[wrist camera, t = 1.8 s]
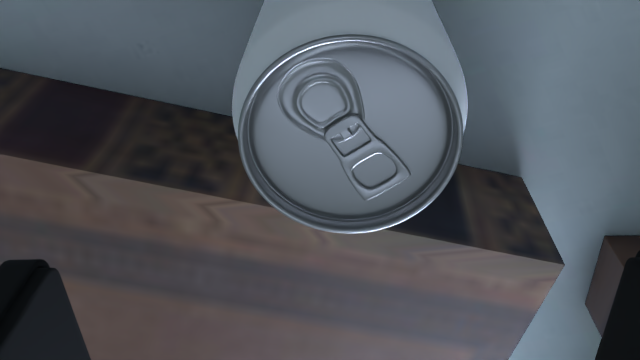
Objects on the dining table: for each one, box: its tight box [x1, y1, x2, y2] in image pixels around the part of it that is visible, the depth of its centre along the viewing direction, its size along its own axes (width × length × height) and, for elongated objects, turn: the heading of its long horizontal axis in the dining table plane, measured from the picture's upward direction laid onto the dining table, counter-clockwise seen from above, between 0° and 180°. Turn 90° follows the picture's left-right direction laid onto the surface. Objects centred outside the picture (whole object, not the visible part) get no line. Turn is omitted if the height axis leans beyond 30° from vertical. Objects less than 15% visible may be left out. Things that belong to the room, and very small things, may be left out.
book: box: [0, 68, 565, 360], centre depth 31 cm, size 24×28×7 cm
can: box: [232, 0, 468, 233], centre depth 19 cm, size 6×6×12 cm
